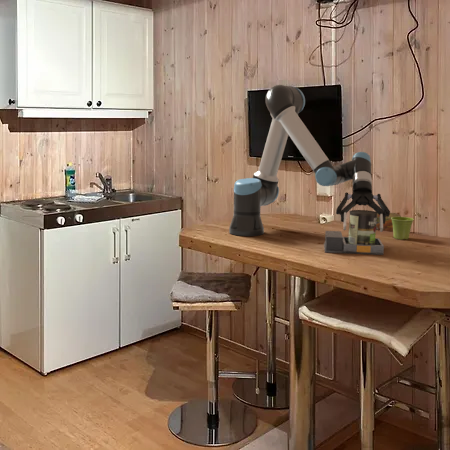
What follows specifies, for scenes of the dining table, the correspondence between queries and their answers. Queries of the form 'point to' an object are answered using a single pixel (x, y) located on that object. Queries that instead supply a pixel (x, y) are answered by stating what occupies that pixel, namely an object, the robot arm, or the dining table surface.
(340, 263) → the dining table surface
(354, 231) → the coffee can
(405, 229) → the plant pot
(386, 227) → the tin
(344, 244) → the grey tray
